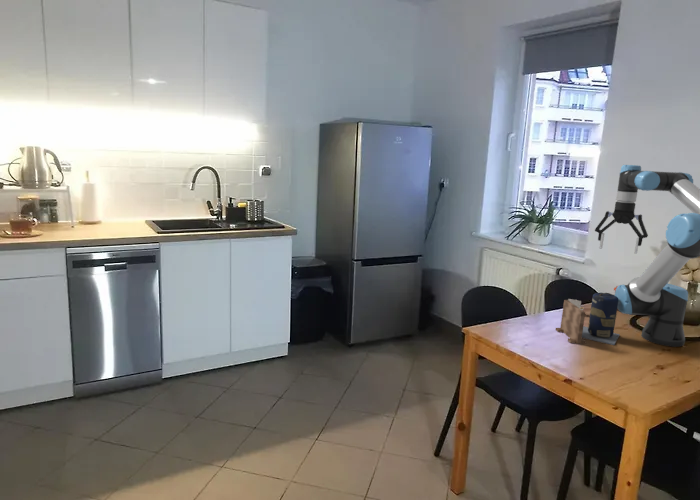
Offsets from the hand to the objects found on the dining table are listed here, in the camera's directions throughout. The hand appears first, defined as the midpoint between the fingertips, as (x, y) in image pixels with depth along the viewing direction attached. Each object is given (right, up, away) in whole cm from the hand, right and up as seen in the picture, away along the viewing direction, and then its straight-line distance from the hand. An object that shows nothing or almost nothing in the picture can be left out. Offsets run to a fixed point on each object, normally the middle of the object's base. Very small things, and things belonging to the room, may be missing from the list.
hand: (617, 250), depth 220 cm
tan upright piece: (-27, -35, -14) cm, 46 cm away
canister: (-14, -35, -12) cm, 39 cm away
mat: (-14, -35, -11) cm, 39 cm away
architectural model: (-12, -30, +17) cm, 37 cm away
